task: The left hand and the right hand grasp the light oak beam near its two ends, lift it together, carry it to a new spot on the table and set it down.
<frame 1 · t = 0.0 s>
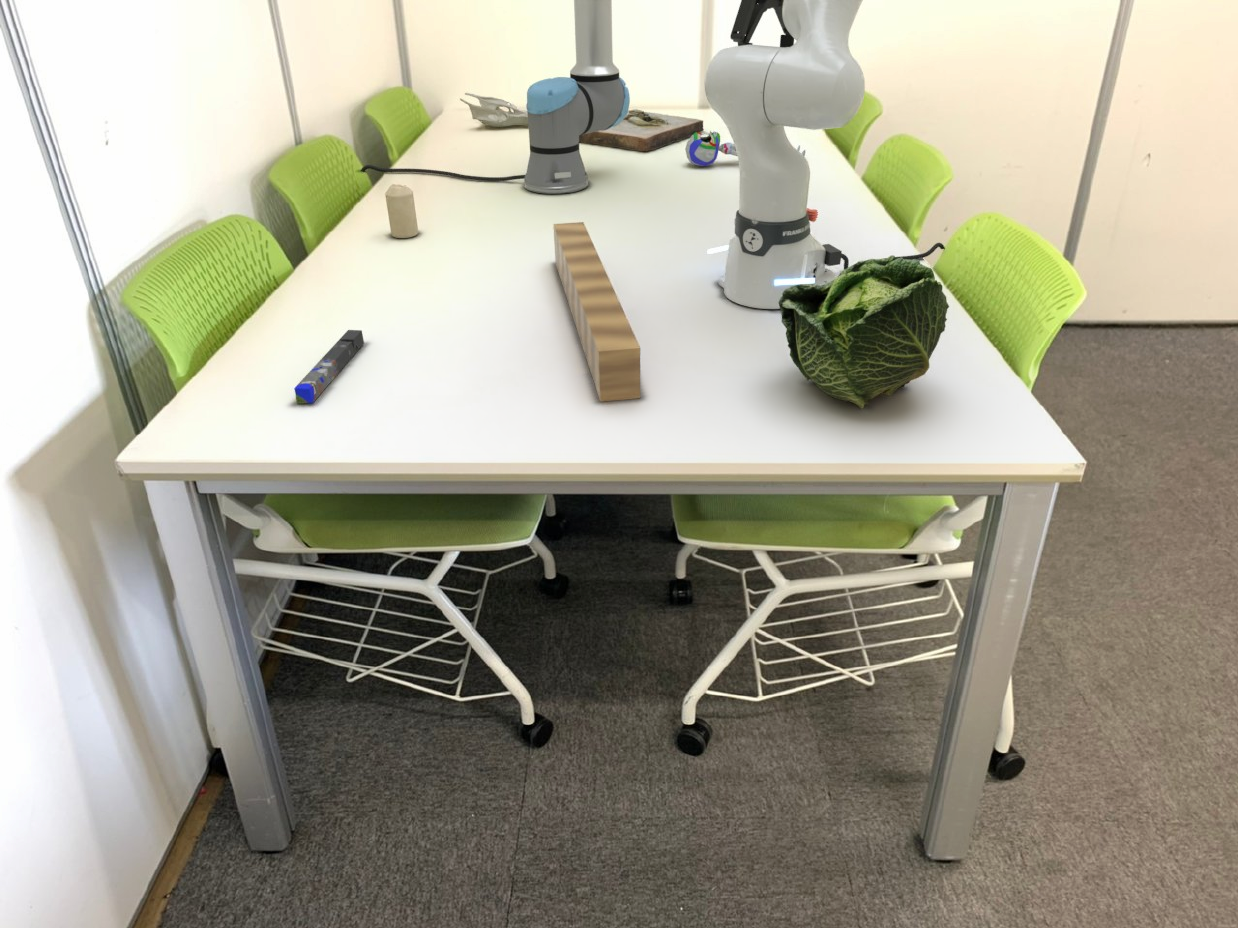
left hand: (764, 75, 179), 28 cm above the table, tool pointing down, fingers open, 13 cm apart
candle: (405, 235, 185), on the table
vegetable: (856, 390, 125), on the table
beam: (591, 320, 146), on the table
plaque: (633, 136, 259), on the table
pillar: (332, 372, 132), on the table
anatomical model: (504, 126, 273), on the table
toy: (743, 164, 230), on the table
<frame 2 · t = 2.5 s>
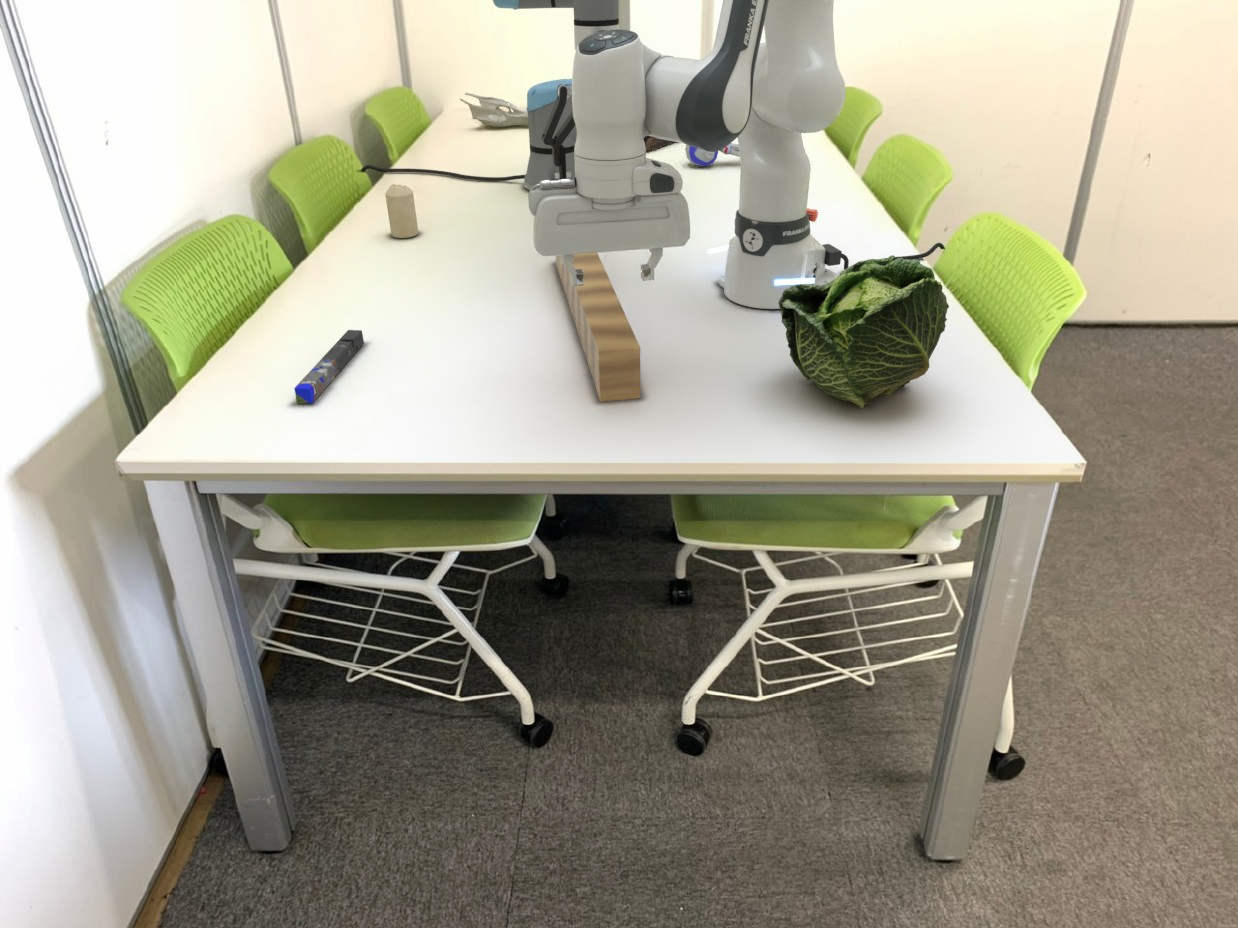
left hand: (600, 181, 161), 15 cm above the table, tool pointing down, fingers open, 13 cm apart
right hand: (612, 281, 119), 15 cm above the table, tool pointing down, fingers open, 8 cm apart
nothing on the table moved.
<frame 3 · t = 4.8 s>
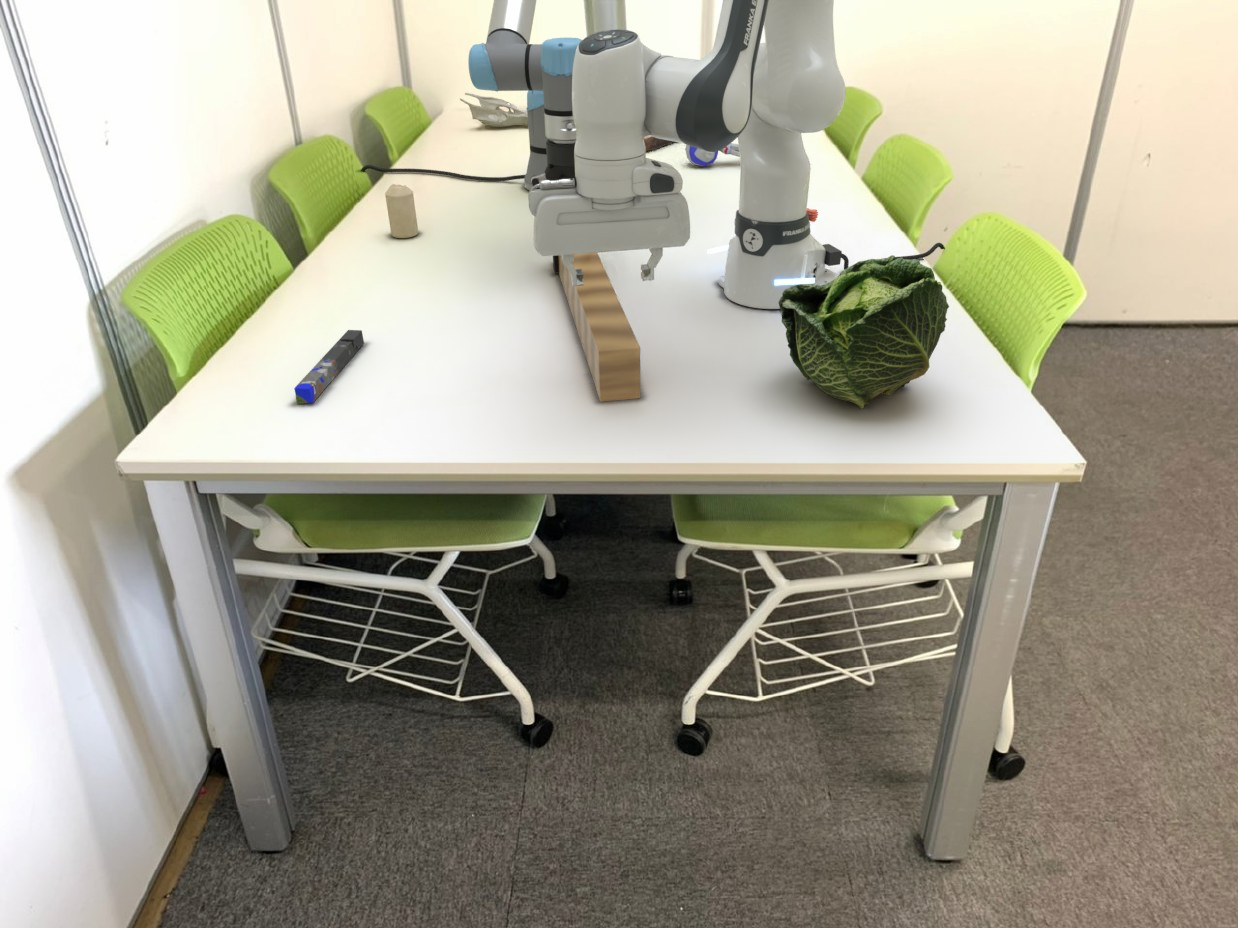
left hand: (573, 268, 165), 1 cm above the table, tool pointing down, fingers closed on beam, 6 cm apart
right hand: (612, 282, 119), 15 cm above the table, tool pointing down, fingers open, 8 cm apart
beam: (591, 320, 146), on the table, touching left hand
everything else where it was.
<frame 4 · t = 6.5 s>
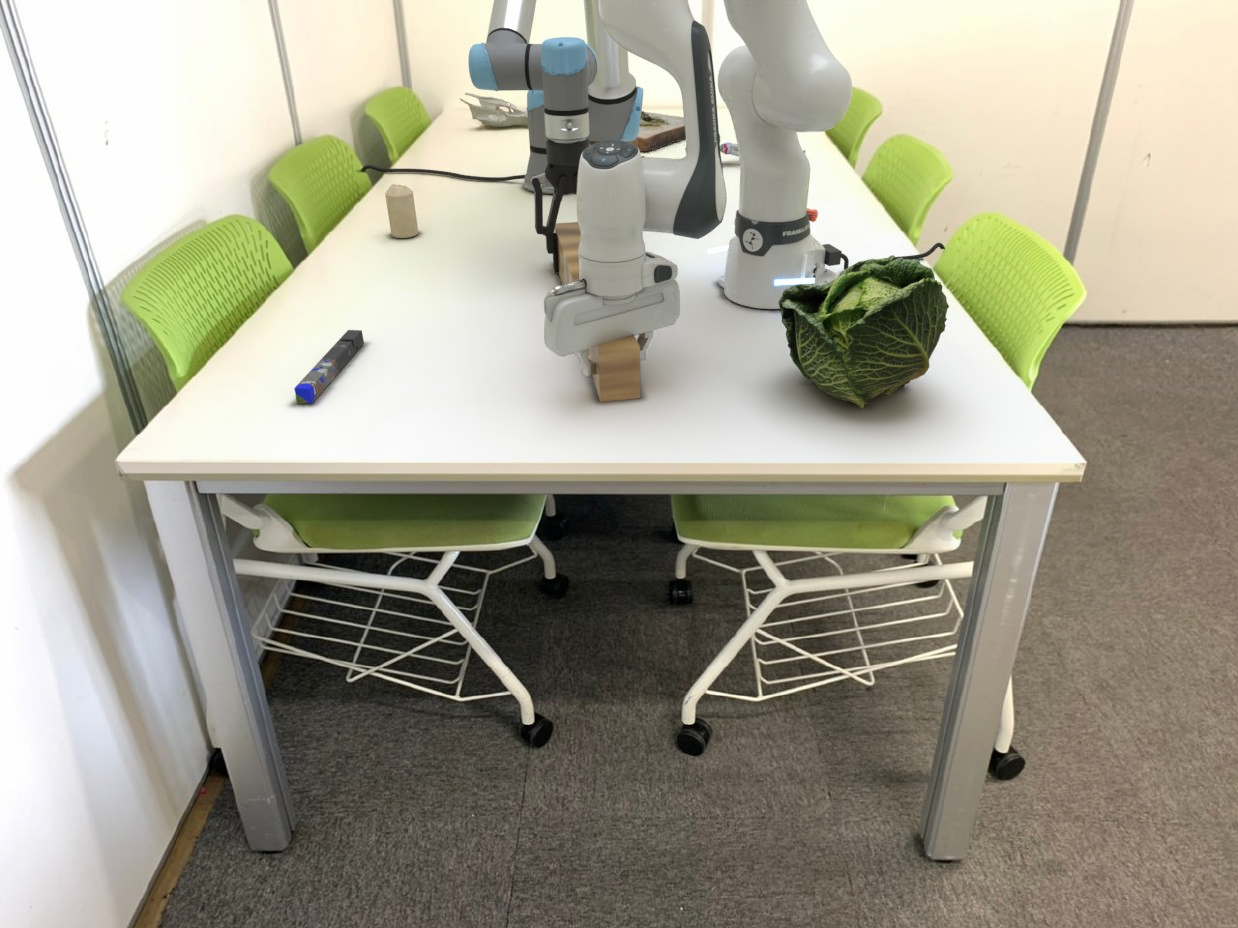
left hand: (573, 268, 165), 1 cm above the table, tool pointing down, fingers closed on beam, 6 cm apart
right hand: (614, 366, 126), 3 cm above the table, tool pointing down, fingers closed on beam, 7 cm apart
beam: (591, 320, 146), on the table, touching left hand, right hand
everything else where it was.
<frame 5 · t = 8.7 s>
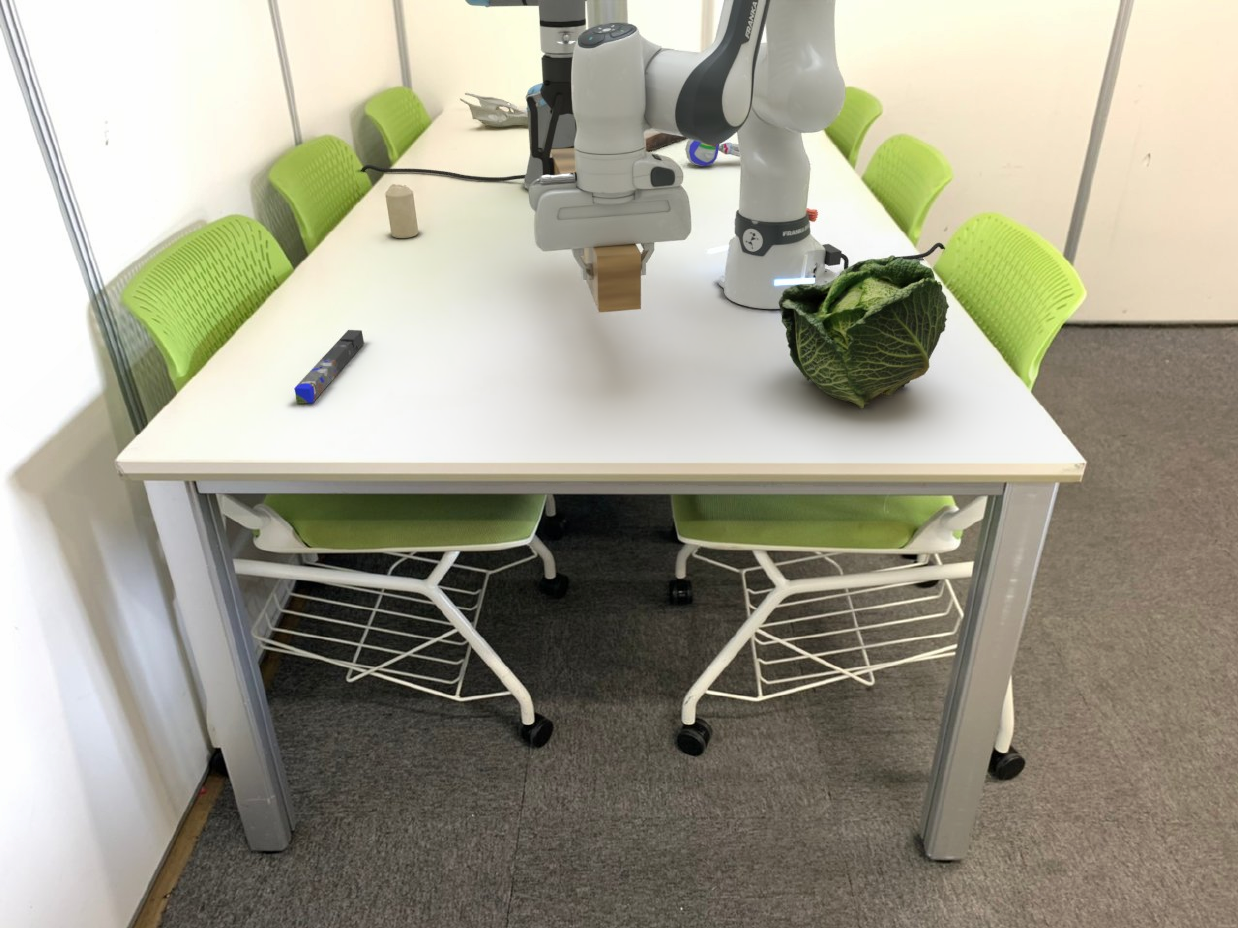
left hand: (570, 195, 159), 14 cm above the table, tool pointing down, fingers closed on beam, 6 cm apart
right hand: (613, 276, 119), 16 cm above the table, tool pointing down, fingers closed on beam, 5 cm apart
beam: (589, 241, 140), point 13 cm above the table, touching left hand, right hand
everything else where it was.
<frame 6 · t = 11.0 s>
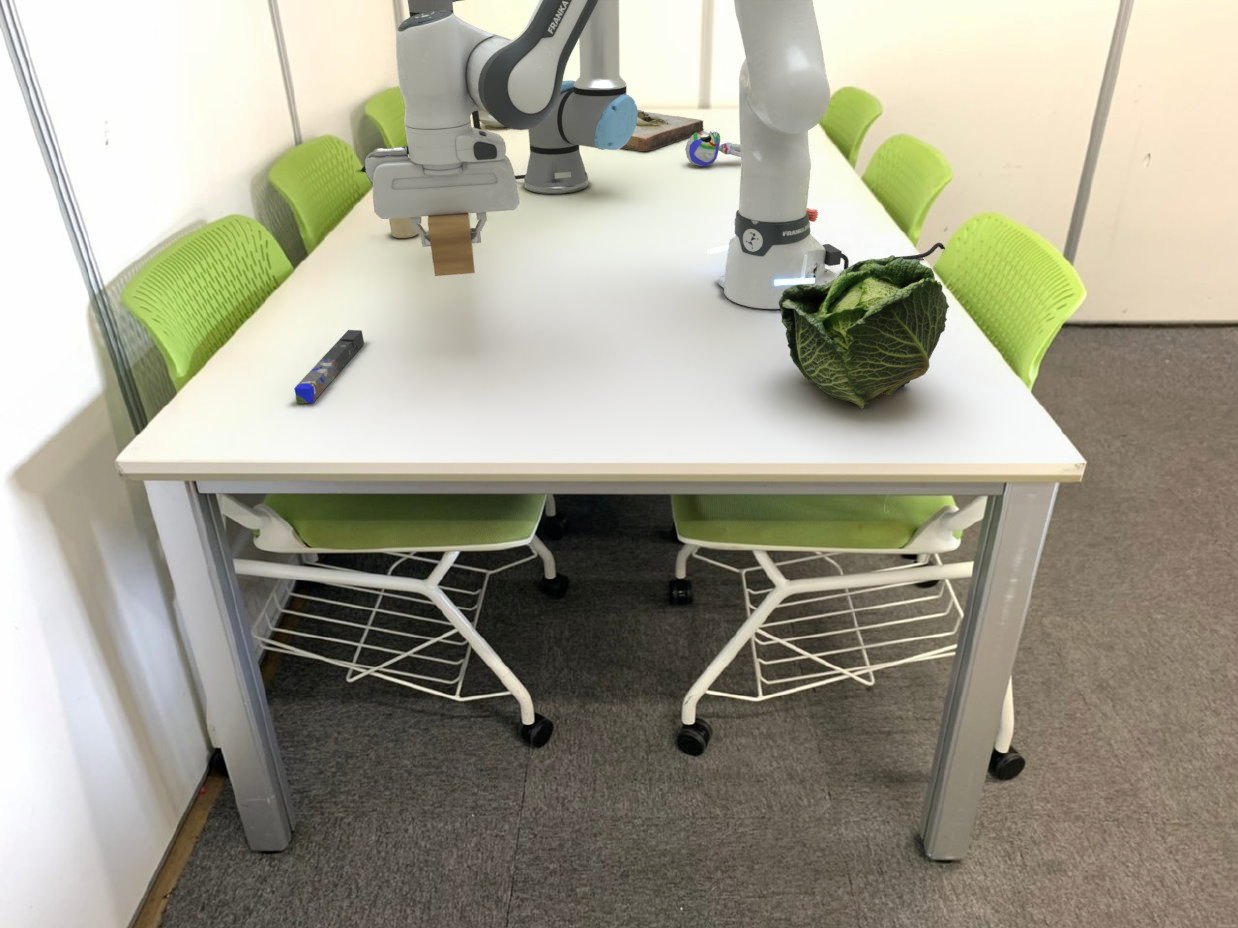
left hand: (450, 177, 170), 14 cm above the table, tool pointing down, fingers closed on beam, 6 cm apart
right hand: (452, 243, 130), 16 cm above the table, tool pointing down, fingers closed on beam, 5 cm apart
beam: (452, 216, 151), point 13 cm above the table, touching left hand, right hand
everything else where it was.
when the left hand's fingers open (2 cm above the table, at t = 12.8 s): beam drops 1 cm, on the table.
when the right hand's fingers open (4 cm above the table, at t = 12.9 s): beam stays where it is, on the table.
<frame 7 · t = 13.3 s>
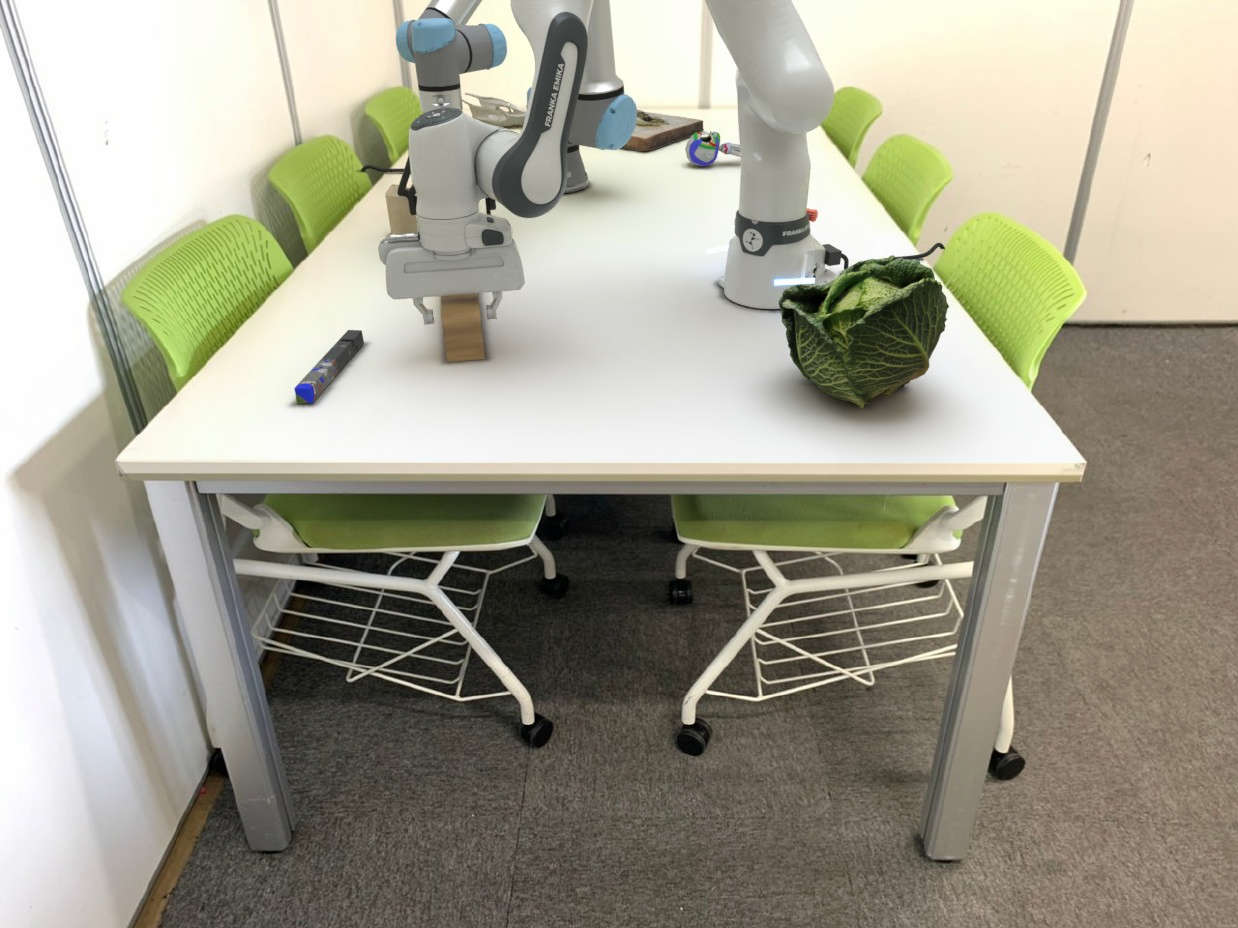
left hand: (455, 229, 175), 4 cm above the table, tool pointing down, fingers open, 13 cm apart
right hand: (460, 320, 136), 4 cm above the table, tool pointing down, fingers open, 8 cm apart
beam: (461, 292, 158), on the table
everything else where it was.
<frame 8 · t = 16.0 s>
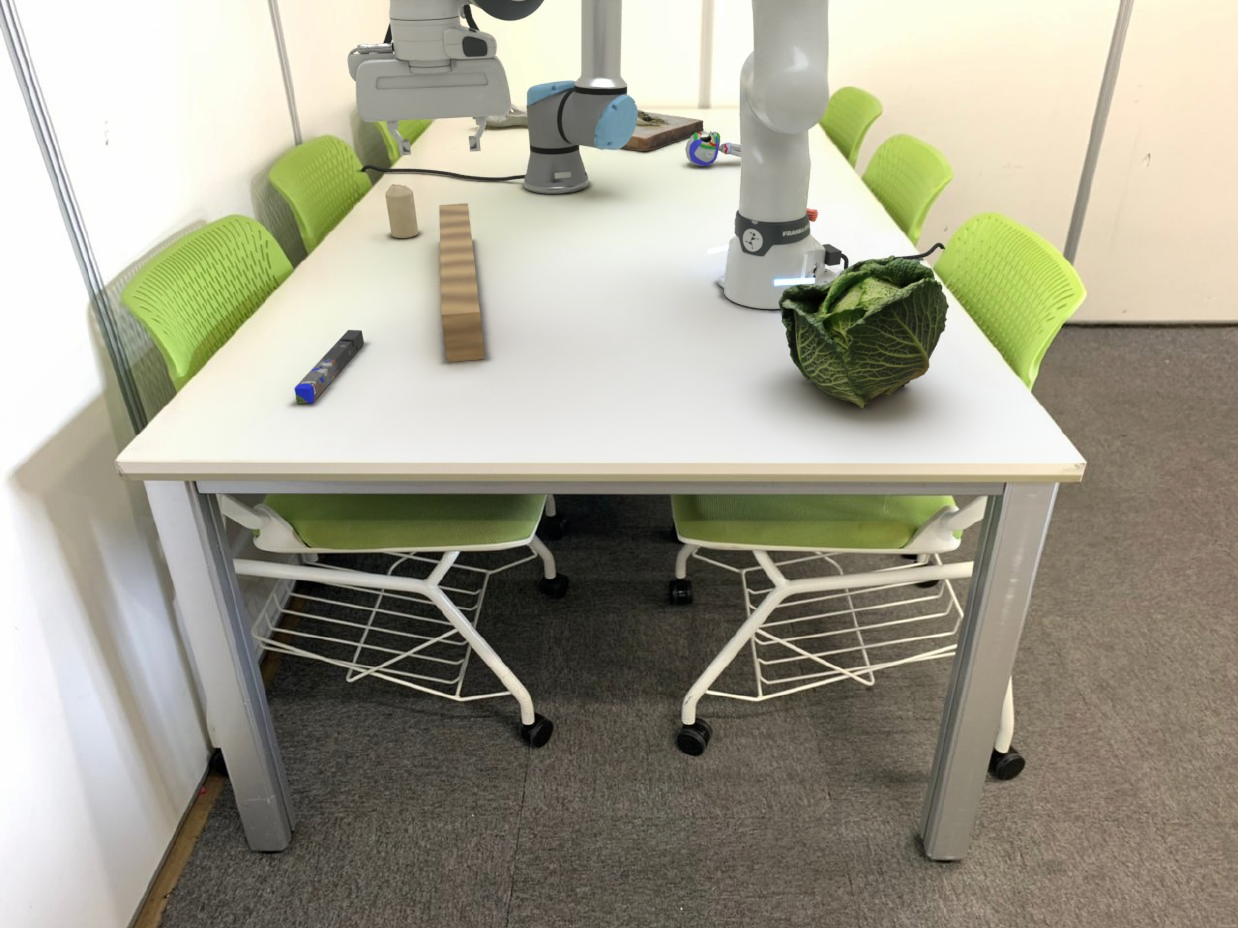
left hand: (441, 106, 163), 27 cm above the table, tool pointing down, fingers open, 13 cm apart
right hand: (440, 152, 123), 29 cm above the table, tool pointing down, fingers open, 8 cm apart
nothing on the table moved.
at the end: beam inside the target area (0.1 cm from its centre), on the table; beam tilted 0°; beam never tilted more than 2° during the clip; both hands held the beam at the same time; the left hand is holding nothing; the right hand is holding nothing; beam at rest at the end (0.0 cm/s) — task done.
